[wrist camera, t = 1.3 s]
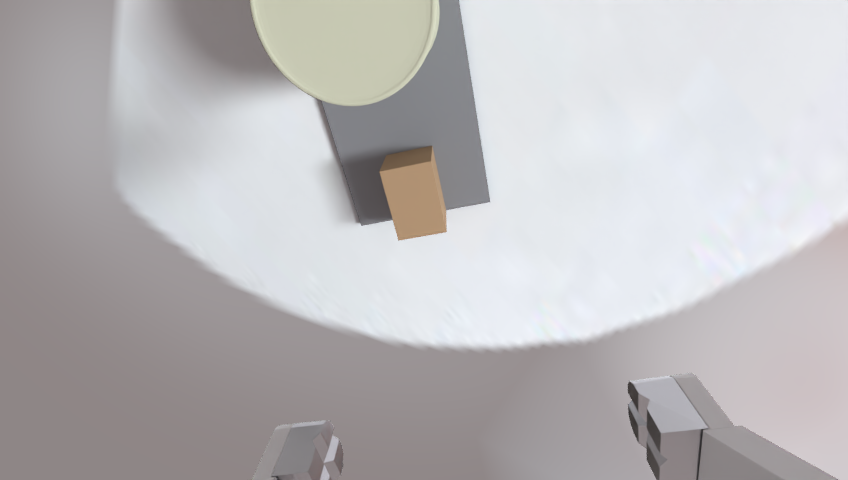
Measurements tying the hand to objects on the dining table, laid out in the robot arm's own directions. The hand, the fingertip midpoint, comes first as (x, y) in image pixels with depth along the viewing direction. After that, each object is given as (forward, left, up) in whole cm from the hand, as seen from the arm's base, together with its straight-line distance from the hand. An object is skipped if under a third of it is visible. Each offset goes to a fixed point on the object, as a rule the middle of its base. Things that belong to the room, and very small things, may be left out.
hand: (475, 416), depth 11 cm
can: (-11, -4, -27) cm, 29 cm away
